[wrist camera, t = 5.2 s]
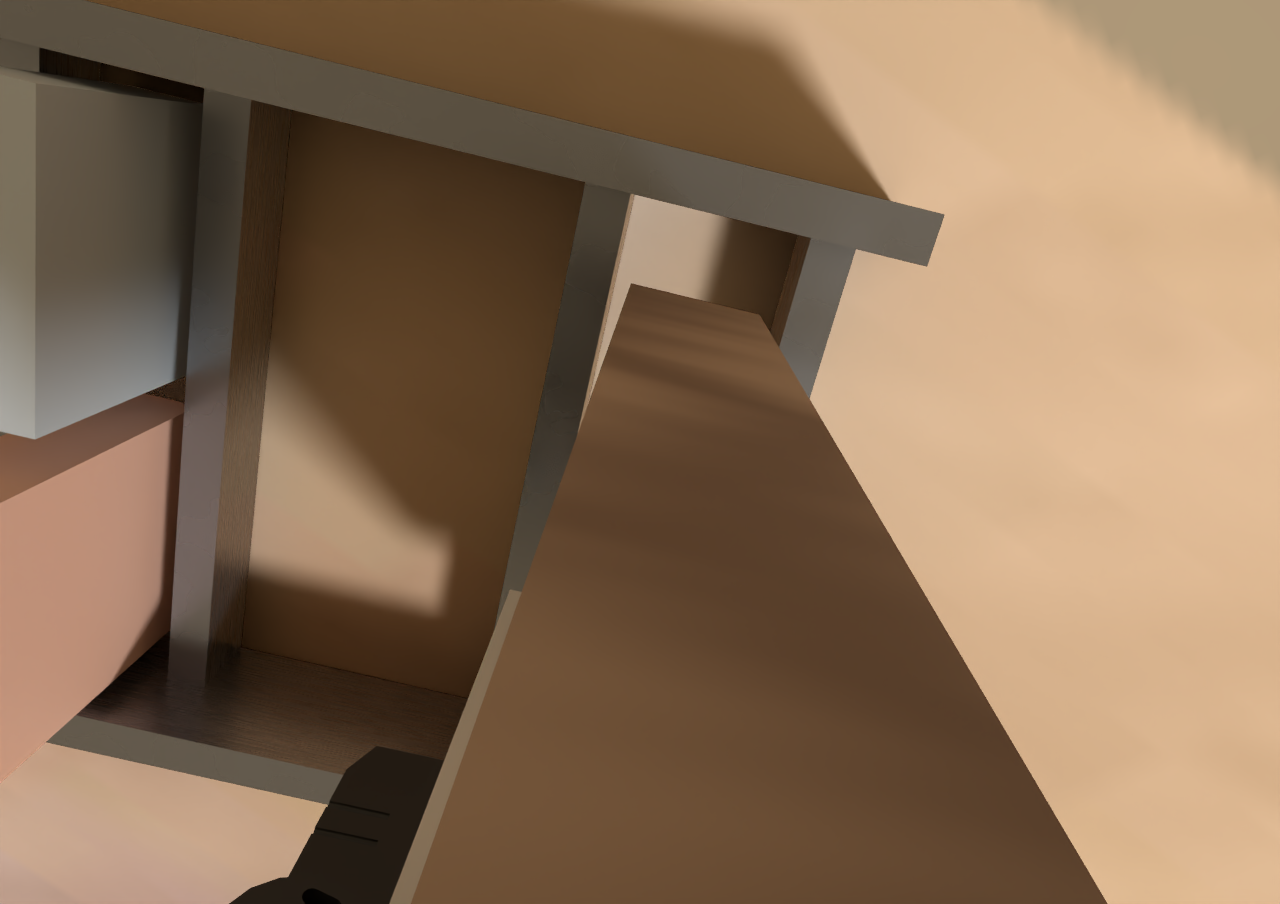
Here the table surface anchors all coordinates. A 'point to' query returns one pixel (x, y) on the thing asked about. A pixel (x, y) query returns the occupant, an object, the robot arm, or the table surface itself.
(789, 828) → the walnut sheet
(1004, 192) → the table surface
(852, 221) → the floor rack
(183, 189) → the slate offcut
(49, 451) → the terracotta offcut
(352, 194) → the table surface
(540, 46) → the table surface
